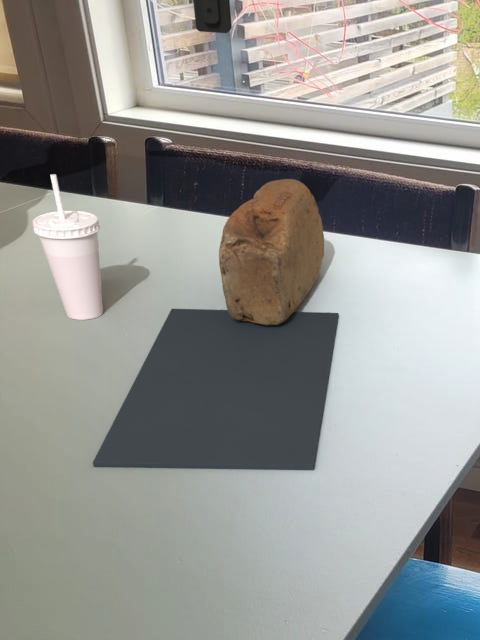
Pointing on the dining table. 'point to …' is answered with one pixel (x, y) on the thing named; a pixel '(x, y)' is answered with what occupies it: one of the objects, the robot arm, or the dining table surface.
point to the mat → (226, 394)
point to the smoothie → (72, 257)
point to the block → (271, 253)
